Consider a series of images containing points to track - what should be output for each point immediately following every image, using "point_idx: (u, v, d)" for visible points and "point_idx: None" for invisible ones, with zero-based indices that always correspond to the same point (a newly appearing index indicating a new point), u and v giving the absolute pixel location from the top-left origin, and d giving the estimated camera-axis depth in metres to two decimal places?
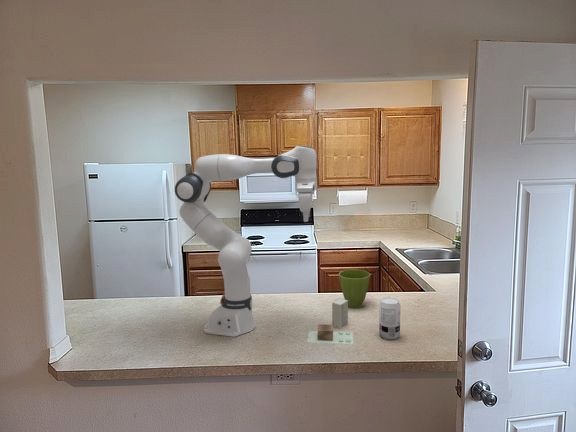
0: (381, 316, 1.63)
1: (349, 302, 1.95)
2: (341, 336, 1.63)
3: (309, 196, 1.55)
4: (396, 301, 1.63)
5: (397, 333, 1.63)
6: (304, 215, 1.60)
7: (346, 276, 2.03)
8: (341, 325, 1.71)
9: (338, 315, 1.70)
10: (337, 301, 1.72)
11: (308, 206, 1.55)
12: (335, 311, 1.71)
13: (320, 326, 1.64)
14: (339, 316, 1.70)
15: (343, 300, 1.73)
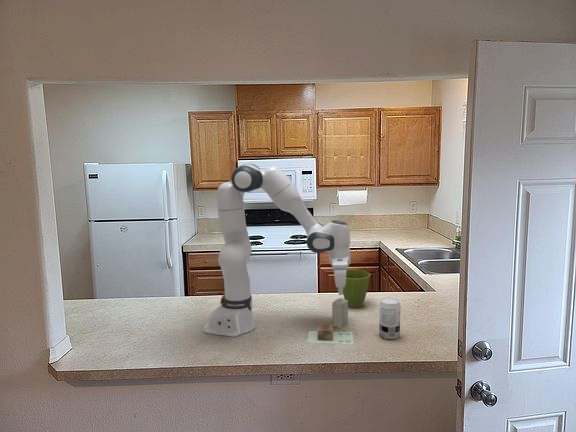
0: (381, 316, 1.63)
1: (349, 302, 1.95)
2: (341, 336, 1.63)
3: (345, 273, 1.61)
4: (396, 301, 1.63)
5: (397, 333, 1.63)
6: (339, 289, 1.65)
7: (346, 276, 2.03)
8: (341, 325, 1.71)
9: (338, 315, 1.70)
10: (337, 301, 1.72)
11: (344, 282, 1.61)
12: (335, 311, 1.71)
13: (320, 326, 1.64)
14: (339, 316, 1.70)
15: (343, 300, 1.73)
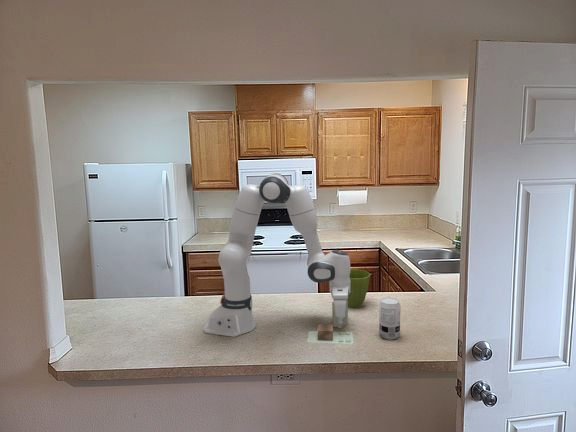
0: (381, 316, 1.63)
1: (349, 302, 1.95)
2: (341, 336, 1.63)
3: (344, 303, 1.63)
4: (396, 301, 1.63)
5: (397, 333, 1.63)
6: (339, 318, 1.68)
7: None
8: (341, 325, 1.71)
9: None
10: None
11: (344, 313, 1.63)
12: None
13: (320, 326, 1.64)
14: None
15: None
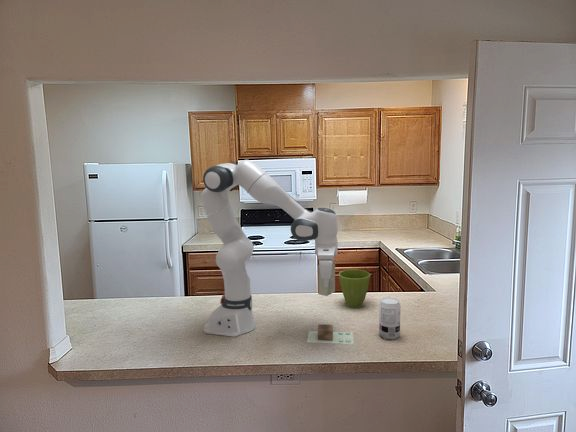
0: (381, 316, 1.63)
1: (349, 302, 1.95)
2: (341, 336, 1.63)
3: (331, 264, 1.50)
4: (396, 301, 1.63)
5: (397, 333, 1.63)
6: (324, 281, 1.55)
7: (346, 276, 2.03)
8: (327, 289, 1.58)
9: None
10: None
11: (329, 274, 1.50)
12: None
13: (320, 326, 1.64)
14: None
15: None
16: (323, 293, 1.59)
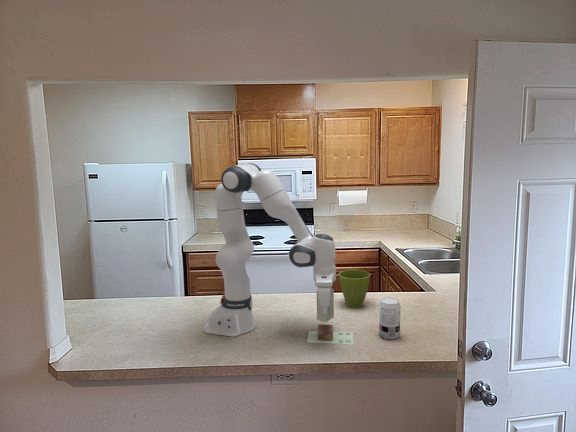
0: (381, 316, 1.63)
1: (349, 302, 1.95)
2: (341, 336, 1.63)
3: (329, 291, 1.50)
4: (396, 301, 1.63)
5: (397, 333, 1.63)
6: (323, 307, 1.55)
7: (346, 276, 2.03)
8: (326, 315, 1.58)
9: None
10: None
11: (328, 301, 1.50)
12: None
13: (320, 326, 1.64)
14: None
15: None
16: (322, 319, 1.59)
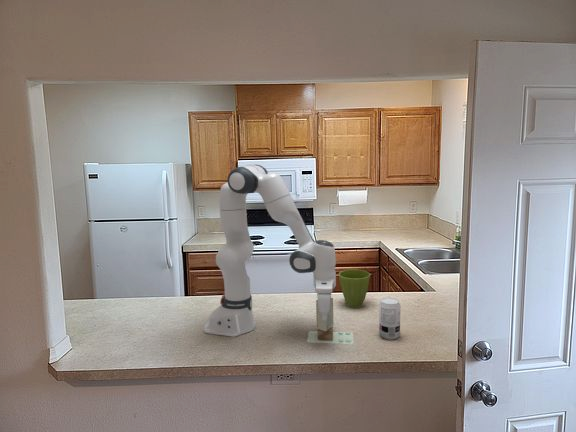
0: (381, 316, 1.63)
1: (349, 302, 1.95)
2: (341, 336, 1.63)
3: (329, 297, 1.51)
4: (396, 301, 1.63)
5: (397, 333, 1.63)
6: (323, 314, 1.55)
7: (346, 276, 2.03)
8: (326, 325, 1.59)
9: None
10: None
11: (328, 308, 1.51)
12: None
13: None
14: None
15: None
16: (322, 328, 1.60)
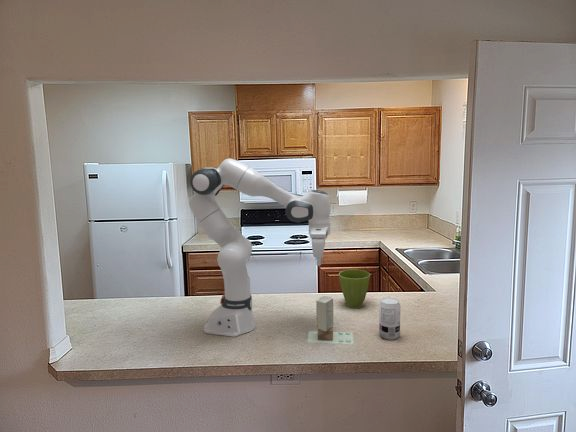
0: (381, 316, 1.63)
1: (349, 302, 1.95)
2: (341, 336, 1.63)
3: (322, 242, 1.58)
4: (396, 301, 1.63)
5: (397, 333, 1.63)
6: (317, 259, 1.63)
7: (346, 276, 2.03)
8: (326, 325, 1.59)
9: (322, 314, 1.59)
10: (321, 299, 1.60)
11: (321, 252, 1.58)
12: (320, 309, 1.59)
13: None
14: (324, 315, 1.58)
15: (328, 298, 1.61)
16: (322, 328, 1.60)
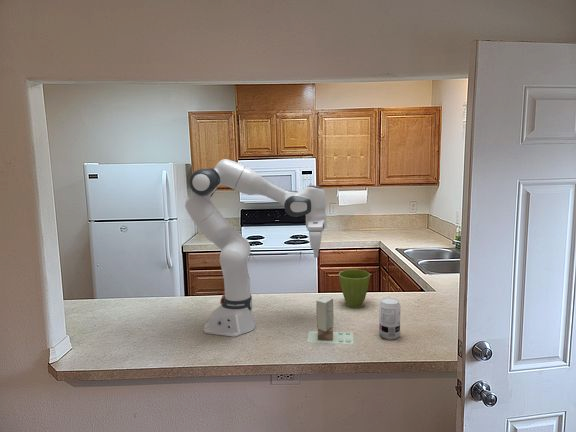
0: (381, 316, 1.63)
1: (349, 302, 1.95)
2: (341, 336, 1.63)
3: (319, 235, 1.65)
4: (396, 301, 1.63)
5: (397, 333, 1.63)
6: (314, 251, 1.70)
7: (346, 276, 2.03)
8: (326, 325, 1.59)
9: (322, 314, 1.59)
10: (321, 299, 1.60)
11: (318, 244, 1.65)
12: (320, 309, 1.59)
13: None
14: (324, 315, 1.58)
15: (328, 298, 1.61)
16: (322, 328, 1.60)
